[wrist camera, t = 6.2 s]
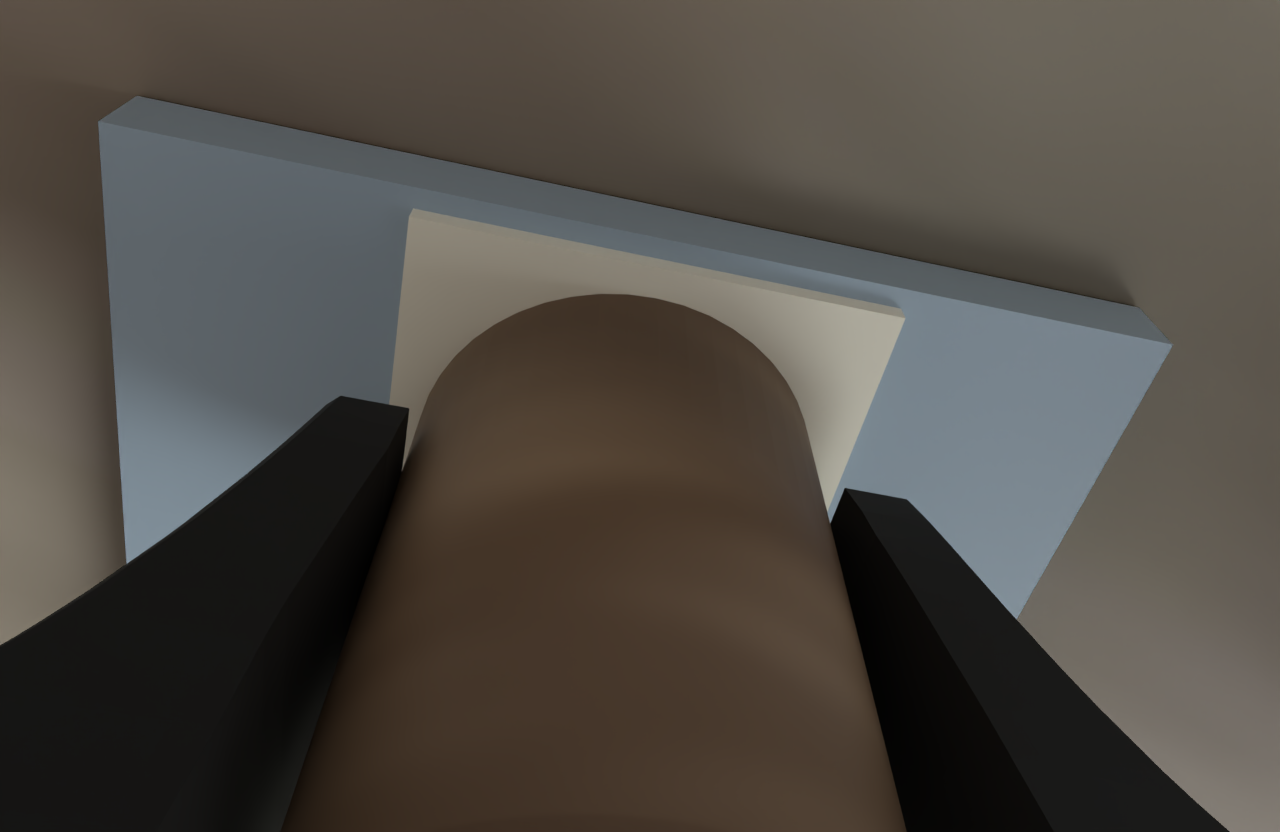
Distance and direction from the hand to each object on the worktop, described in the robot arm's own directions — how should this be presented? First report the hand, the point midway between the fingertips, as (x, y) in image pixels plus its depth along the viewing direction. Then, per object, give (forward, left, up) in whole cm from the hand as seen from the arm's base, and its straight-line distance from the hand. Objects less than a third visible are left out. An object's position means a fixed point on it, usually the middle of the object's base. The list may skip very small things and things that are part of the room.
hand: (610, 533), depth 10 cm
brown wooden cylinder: (0, 0, -1) cm, 1 cm away
